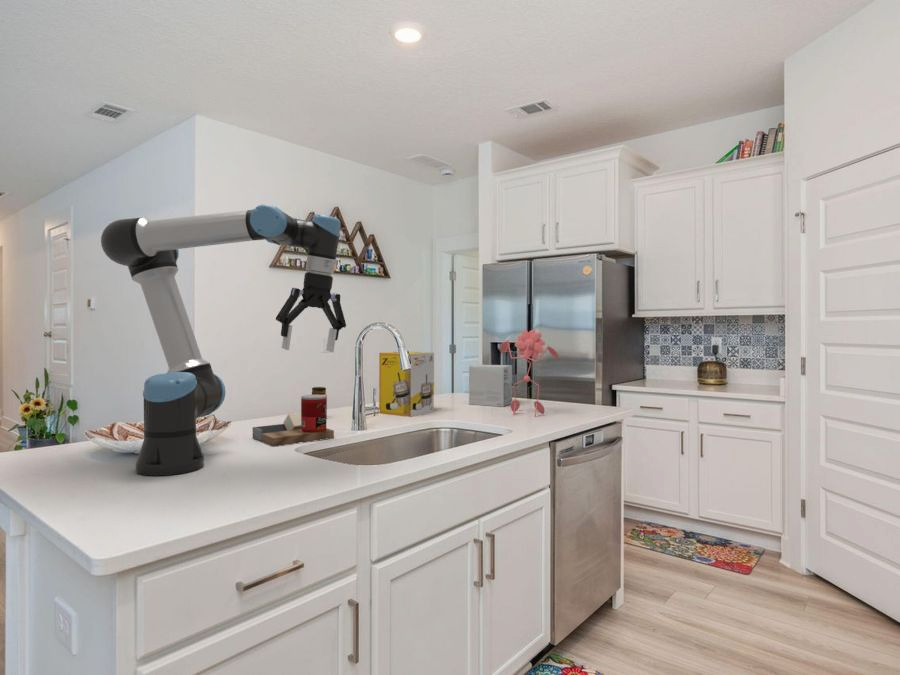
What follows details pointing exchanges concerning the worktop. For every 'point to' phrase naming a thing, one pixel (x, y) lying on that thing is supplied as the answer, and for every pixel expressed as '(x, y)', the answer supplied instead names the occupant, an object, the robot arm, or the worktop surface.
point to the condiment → (319, 391)
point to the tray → (267, 430)
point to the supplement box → (490, 385)
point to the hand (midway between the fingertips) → (308, 350)
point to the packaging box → (406, 384)
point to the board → (294, 436)
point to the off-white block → (293, 421)
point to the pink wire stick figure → (528, 347)
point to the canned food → (313, 413)
